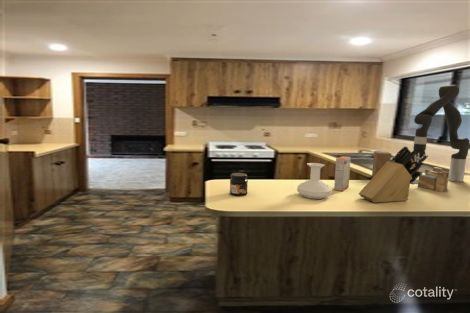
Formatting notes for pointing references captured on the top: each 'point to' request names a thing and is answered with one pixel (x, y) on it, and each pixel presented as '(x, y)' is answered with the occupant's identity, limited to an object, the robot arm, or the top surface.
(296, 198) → the top surface
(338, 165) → the cracker box
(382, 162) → the wooden block
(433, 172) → the wooden peg
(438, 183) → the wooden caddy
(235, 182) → the supplement container
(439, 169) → the lid
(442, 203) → the top surface
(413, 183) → the mat
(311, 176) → the white vase
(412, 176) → the knife block
